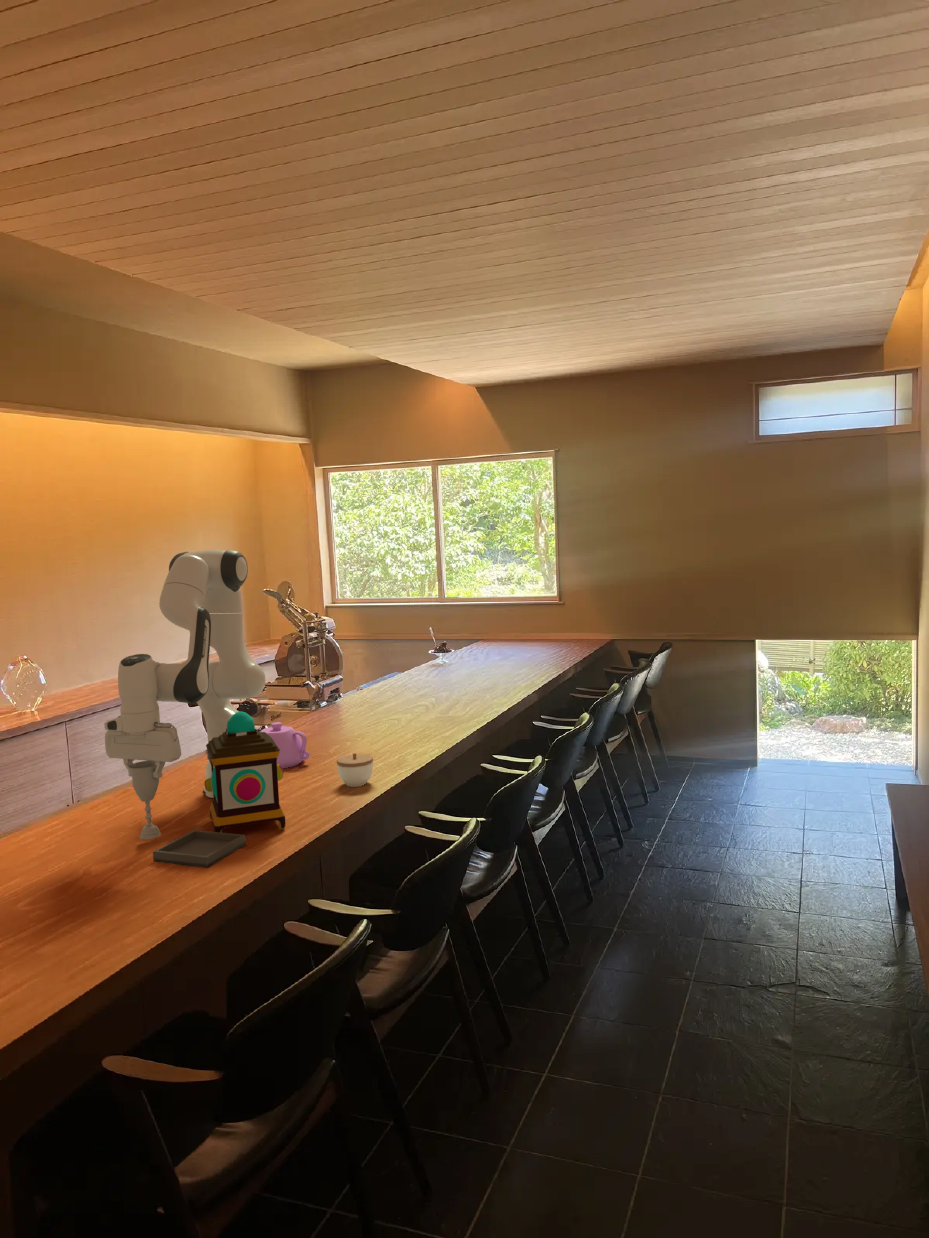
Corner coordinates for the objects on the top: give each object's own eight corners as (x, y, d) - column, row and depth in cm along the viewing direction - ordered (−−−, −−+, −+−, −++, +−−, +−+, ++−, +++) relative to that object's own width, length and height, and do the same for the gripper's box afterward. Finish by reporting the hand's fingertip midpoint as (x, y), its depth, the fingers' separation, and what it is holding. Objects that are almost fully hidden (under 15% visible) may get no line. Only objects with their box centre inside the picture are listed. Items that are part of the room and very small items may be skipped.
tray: (194, 839, 214) (194, 829, 214) (246, 844, 209) (245, 834, 208) (153, 861, 200) (152, 851, 200) (207, 868, 195) (206, 857, 194)
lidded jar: (330, 787, 255) (329, 756, 254) (351, 777, 264) (350, 747, 264) (360, 790, 250) (359, 759, 249) (381, 780, 259) (379, 750, 259)
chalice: (156, 828, 218) (150, 758, 216) (171, 833, 213) (165, 762, 211) (129, 837, 212) (123, 765, 210) (143, 842, 208) (137, 769, 206)
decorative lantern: (204, 819, 230) (197, 708, 227) (279, 808, 236) (273, 700, 234) (210, 843, 211) (202, 723, 208) (291, 830, 218) (285, 714, 215)
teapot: (322, 757, 290) (319, 717, 289) (297, 772, 273) (294, 729, 272) (256, 755, 297) (253, 716, 296) (228, 769, 280) (225, 727, 279)
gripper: (184, 720, 209) (188, 775, 210) (117, 717, 216) (121, 770, 218) (167, 726, 203) (171, 783, 205) (98, 723, 210) (103, 778, 212)
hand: (145, 776), depth 211 cm, fingers closed on chalice, 6 cm apart
